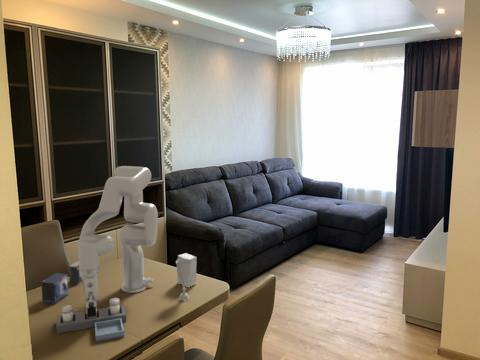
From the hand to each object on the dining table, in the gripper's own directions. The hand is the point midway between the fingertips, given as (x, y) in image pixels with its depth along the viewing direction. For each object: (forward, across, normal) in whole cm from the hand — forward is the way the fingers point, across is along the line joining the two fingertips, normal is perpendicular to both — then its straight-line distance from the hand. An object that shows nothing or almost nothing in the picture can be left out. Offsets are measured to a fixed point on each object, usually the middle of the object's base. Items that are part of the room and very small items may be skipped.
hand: (91, 310), depth 164 cm
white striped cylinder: (+5, 0, 0) cm, 5 cm away
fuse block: (+5, 0, 0) cm, 5 cm away
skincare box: (+5, +22, -45) cm, 50 cm away
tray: (+5, -11, -6) cm, 13 cm away
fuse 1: (+5, 0, +9) cm, 10 cm away
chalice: (+5, +7, -40) cm, 41 cm away
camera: (+5, +45, +5) cm, 46 cm away
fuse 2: (+5, 0, -9) cm, 10 cm away
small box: (+5, +27, +15) cm, 31 cm away
